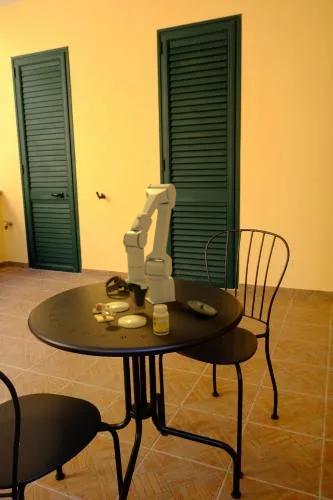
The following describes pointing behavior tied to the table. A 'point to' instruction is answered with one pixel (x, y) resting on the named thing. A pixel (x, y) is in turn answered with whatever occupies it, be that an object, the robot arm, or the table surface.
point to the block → (133, 302)
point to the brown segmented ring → (116, 284)
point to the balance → (103, 313)
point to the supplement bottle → (160, 320)
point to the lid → (202, 307)
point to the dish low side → (117, 306)
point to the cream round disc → (132, 321)
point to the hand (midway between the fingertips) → (137, 304)
